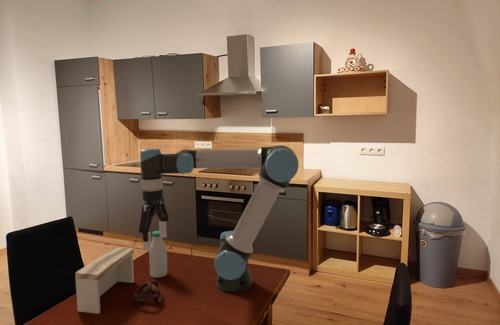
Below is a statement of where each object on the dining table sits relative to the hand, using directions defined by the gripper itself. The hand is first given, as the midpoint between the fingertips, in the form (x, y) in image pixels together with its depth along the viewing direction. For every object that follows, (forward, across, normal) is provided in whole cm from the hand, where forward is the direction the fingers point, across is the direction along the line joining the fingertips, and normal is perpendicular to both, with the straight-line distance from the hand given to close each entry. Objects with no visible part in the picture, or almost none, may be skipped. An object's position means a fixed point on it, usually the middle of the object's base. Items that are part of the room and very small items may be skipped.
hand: (155, 243), depth 145 cm
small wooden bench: (+22, +2, -20) cm, 30 cm away
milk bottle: (+23, -20, -10) cm, 32 cm away
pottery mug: (+23, +2, -3) cm, 23 cm away
